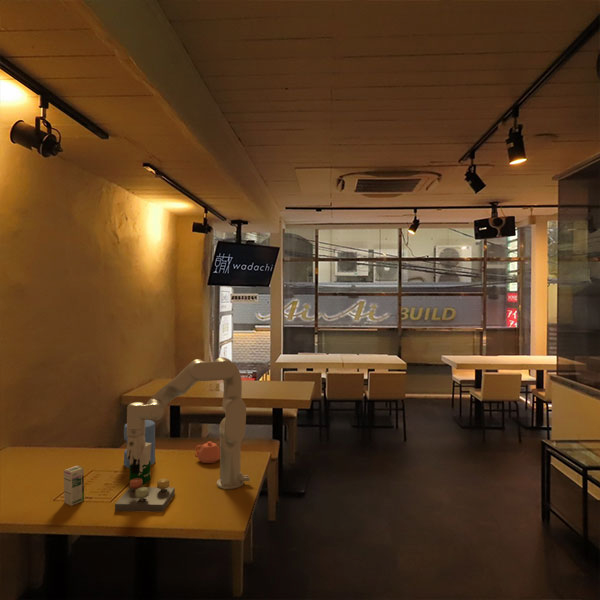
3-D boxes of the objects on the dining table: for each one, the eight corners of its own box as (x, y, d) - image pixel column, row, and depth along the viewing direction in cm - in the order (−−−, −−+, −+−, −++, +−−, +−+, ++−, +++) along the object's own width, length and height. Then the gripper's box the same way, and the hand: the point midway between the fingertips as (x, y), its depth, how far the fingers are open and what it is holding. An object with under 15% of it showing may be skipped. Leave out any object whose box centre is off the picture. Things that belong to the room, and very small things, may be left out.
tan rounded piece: (170, 489, 197) (171, 478, 197) (167, 495, 191) (167, 483, 191) (159, 489, 197) (159, 478, 197) (155, 494, 192) (155, 483, 191)
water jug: (143, 455, 243) (143, 405, 243) (161, 462, 234) (161, 409, 234) (117, 464, 231) (117, 411, 230) (135, 471, 222) (135, 416, 221)
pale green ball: (150, 498, 188) (150, 487, 188) (145, 504, 183) (145, 492, 182) (138, 498, 188) (138, 487, 188) (133, 504, 183) (133, 492, 183)
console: (174, 494, 198) (174, 487, 198) (163, 511, 182) (163, 504, 182) (130, 493, 198) (130, 486, 198) (114, 511, 182) (114, 503, 182)
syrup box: (71, 506, 186) (71, 472, 186) (63, 502, 189) (63, 469, 189) (84, 501, 191) (84, 467, 190) (76, 497, 194) (76, 464, 194)
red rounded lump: (144, 489, 197) (144, 478, 197) (139, 494, 192) (139, 483, 192) (132, 489, 197) (132, 478, 197) (127, 494, 192) (127, 483, 192)
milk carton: (136, 477, 215) (136, 437, 214) (153, 479, 213) (153, 438, 212) (126, 485, 206) (126, 443, 206) (143, 487, 204) (143, 444, 204)
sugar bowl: (218, 465, 231) (218, 446, 231) (191, 465, 231) (192, 445, 231) (223, 456, 243) (223, 438, 243) (197, 456, 243) (197, 438, 243)
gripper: (137, 437, 186) (137, 480, 187) (150, 426, 201) (149, 466, 201) (120, 436, 186) (119, 479, 187) (134, 426, 201) (133, 465, 202)
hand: (135, 472), depth 194 cm, fingers closed
